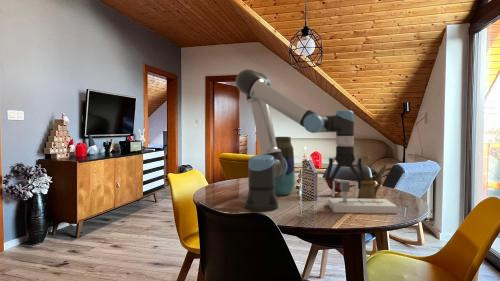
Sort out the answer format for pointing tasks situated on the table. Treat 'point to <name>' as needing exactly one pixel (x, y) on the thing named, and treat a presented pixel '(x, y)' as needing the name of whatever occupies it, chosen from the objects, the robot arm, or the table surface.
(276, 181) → the vase
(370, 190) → the brown watering can
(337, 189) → the decorative bird figurine
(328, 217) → the table surface
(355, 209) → the board
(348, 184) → the fader
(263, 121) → the robot arm
